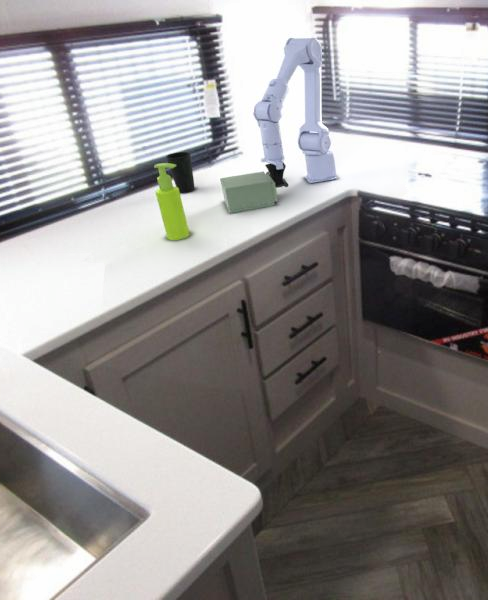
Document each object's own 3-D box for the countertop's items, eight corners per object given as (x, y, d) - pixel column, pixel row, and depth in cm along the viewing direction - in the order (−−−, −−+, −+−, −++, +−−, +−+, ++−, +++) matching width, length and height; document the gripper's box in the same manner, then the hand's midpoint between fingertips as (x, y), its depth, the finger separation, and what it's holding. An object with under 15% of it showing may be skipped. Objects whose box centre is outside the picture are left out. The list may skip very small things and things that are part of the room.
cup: (201, 186, 196) (193, 151, 190) (192, 193, 189) (184, 157, 183) (180, 187, 197) (171, 152, 191) (170, 194, 190) (161, 158, 184)
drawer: (284, 189, 185) (282, 171, 182) (292, 198, 176) (289, 180, 174) (231, 198, 180) (228, 180, 177) (236, 208, 171) (233, 189, 169)
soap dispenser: (186, 240, 154) (168, 167, 144) (163, 239, 155) (144, 167, 145) (196, 232, 159) (180, 160, 149) (174, 231, 160) (156, 160, 150)
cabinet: (267, 194, 184) (263, 171, 180) (274, 205, 175) (271, 181, 171) (224, 201, 180) (219, 178, 176) (230, 213, 171) (225, 188, 167)
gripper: (254, 140, 177) (261, 182, 183) (263, 149, 165) (270, 195, 171) (276, 137, 179) (282, 179, 185) (287, 146, 167) (293, 191, 173)
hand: (278, 186), depth 178 cm, fingers closed, pressing on drawer
